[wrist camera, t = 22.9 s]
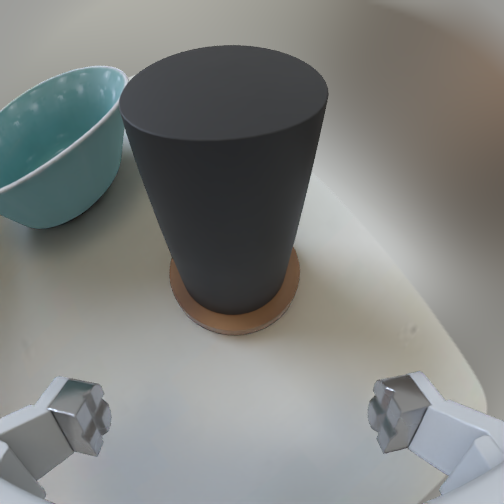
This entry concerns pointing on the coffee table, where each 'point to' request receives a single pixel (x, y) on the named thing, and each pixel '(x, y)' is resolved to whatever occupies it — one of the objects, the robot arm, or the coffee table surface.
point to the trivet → (242, 321)
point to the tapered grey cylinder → (227, 164)
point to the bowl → (61, 146)
